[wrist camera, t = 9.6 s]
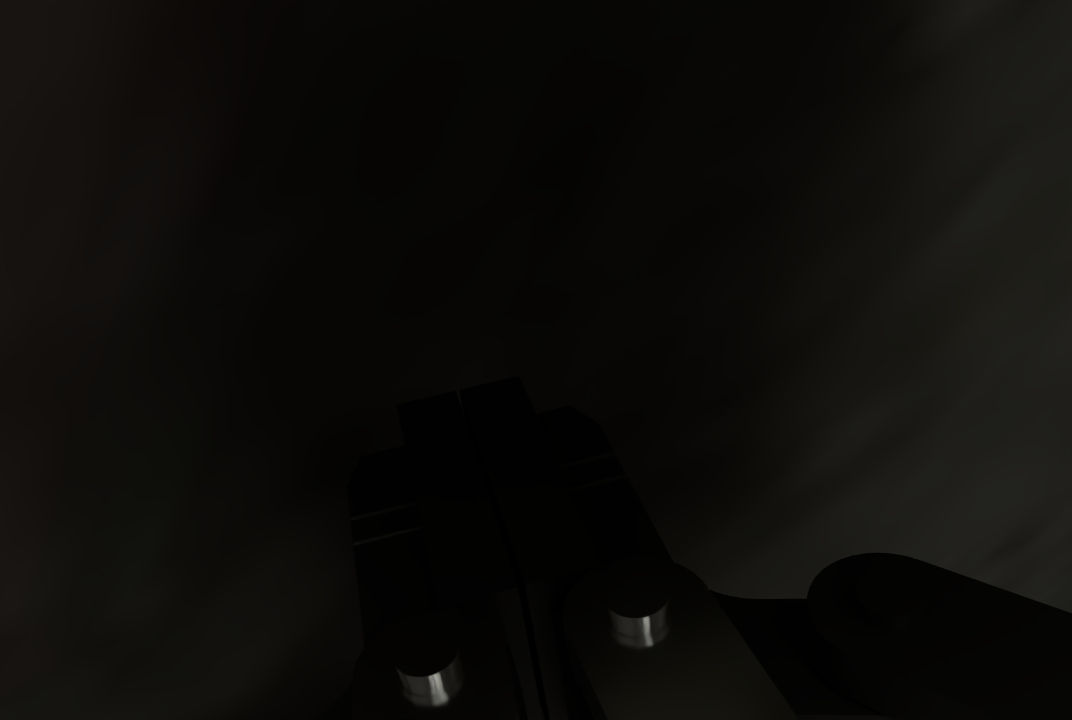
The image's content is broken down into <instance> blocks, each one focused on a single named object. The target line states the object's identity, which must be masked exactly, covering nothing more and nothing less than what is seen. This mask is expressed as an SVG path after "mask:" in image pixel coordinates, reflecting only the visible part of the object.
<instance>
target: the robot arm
mask: <svg viewBox="0 0 1072 720" xmlns="http://www.w3.org/2000/svg"><path fill="white" fill-rule="evenodd" d="M460 395H461V401H462V407H463V412H464V416H463V413H462V410H461V406H460V403H459V400H458V397H457V394H456V392H455V391H453V392H449V393H445V394H440V395H436V396H432V397H428V398H423V399H419V400H415V401H410V402H406V403H402V404H398V405H397V410H398V415H399V420H400V424H401V429H402V434H403V439H404V443H405V446H401V447H397V448H393V449H388V450H384V451H380V452H376V453H372V454H368V455H363V456H361V458H360V460H359V462H358V464H357V466H356V469H355V471H354V473H353V475H352V477H351V479H350V481H349V483H348V485H347V492H348V501H349V510H350V517H351V528H352V537H353V543H354V555H355V564H356V573H357V582H358V590H359V599H360V608H361V617H362V626H363V635H364V649H363V650H362V652H361V654H360V656H359V658H358V659H357V662H356V665H355V668H354V671H353V678H352V683H351V685H350V686H349V687H348V689H347V690H346V691H345V692H344V694H343V695H342V696H341V697H340V698H339V699H338V700H337V701H336V702H335V703H334V704H333V705H332V706H331V707H330V708H328V709H327V710H326V711H325V712H323V713H322V714H321V715H319V716H318V717H316V718H315V719H313V720H543V719H542V713H541V708H540V703H541V707H542V710H543V713H544V717H545V720H1072V613H1069V612H1066V611H1064V610H1061V609H1058V608H1055V607H1052V606H1049V605H1046V604H1044V603H1041V602H1038V601H1035V600H1032V599H1029V598H1026V597H1023V596H1021V595H1018V594H1015V593H1012V592H1009V591H1006V590H1003V589H1001V588H998V587H995V586H992V585H989V584H986V583H983V582H981V581H978V580H975V579H972V578H969V577H966V576H963V575H961V574H958V573H955V572H952V571H949V570H946V569H943V568H941V567H938V566H935V565H932V564H929V563H926V562H923V561H921V560H918V559H914V558H911V557H907V556H902V555H897V554H890V553H865V554H859V555H853V556H850V557H846V558H843V559H840V560H838V561H836V562H834V563H832V564H830V565H829V566H827V567H826V568H825V569H823V570H822V571H821V572H820V573H819V574H818V575H817V576H816V577H815V579H814V580H813V582H812V584H811V586H810V588H809V592H808V595H807V599H745V598H738V597H732V596H728V595H724V594H720V593H717V592H714V591H712V590H709V588H708V587H707V585H706V584H705V583H704V582H703V581H702V580H701V578H700V577H698V576H697V575H696V574H695V573H693V572H692V571H691V570H689V569H687V568H685V567H684V566H682V565H679V564H677V563H674V562H673V560H672V559H671V557H670V555H669V553H668V552H667V550H666V548H665V546H664V544H663V542H662V540H661V539H660V537H659V535H658V533H657V531H656V529H655V527H654V525H653V524H652V522H651V520H650V518H649V516H648V514H647V512H646V510H645V509H644V507H643V505H642V503H641V501H640V499H639V497H638V495H637V494H636V492H635V490H634V488H633V486H632V484H631V482H630V481H629V479H628V478H626V475H625V471H624V469H623V467H622V466H621V464H620V462H619V460H618V458H617V456H615V455H614V451H613V449H612V447H611V445H610V443H609V441H608V439H607V437H606V436H605V434H604V432H603V430H602V428H601V426H600V424H598V423H597V422H595V421H594V420H592V419H590V418H589V417H587V416H586V415H584V414H583V413H581V412H580V411H578V410H577V409H575V408H574V407H572V406H567V407H562V408H558V409H554V410H550V411H546V412H542V413H537V414H536V413H535V411H534V409H533V406H532V404H531V402H530V399H529V397H528V395H527V393H526V390H525V388H524V386H523V384H522V381H521V379H520V378H519V376H516V377H512V378H508V379H503V380H499V381H495V382H491V383H486V384H482V385H478V386H474V387H469V388H465V389H461V390H460ZM464 417H465V419H464ZM539 700H540V703H539Z"/></svg>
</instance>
